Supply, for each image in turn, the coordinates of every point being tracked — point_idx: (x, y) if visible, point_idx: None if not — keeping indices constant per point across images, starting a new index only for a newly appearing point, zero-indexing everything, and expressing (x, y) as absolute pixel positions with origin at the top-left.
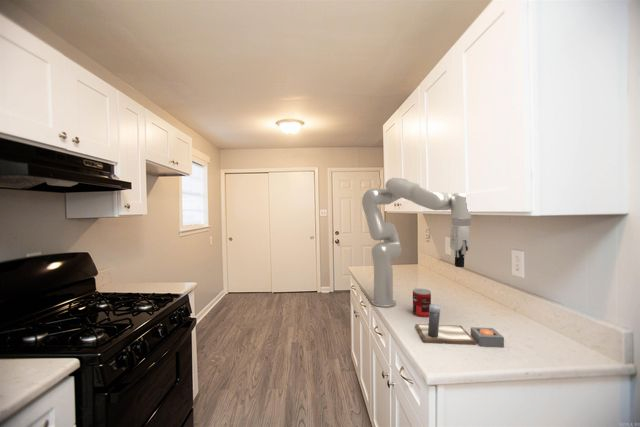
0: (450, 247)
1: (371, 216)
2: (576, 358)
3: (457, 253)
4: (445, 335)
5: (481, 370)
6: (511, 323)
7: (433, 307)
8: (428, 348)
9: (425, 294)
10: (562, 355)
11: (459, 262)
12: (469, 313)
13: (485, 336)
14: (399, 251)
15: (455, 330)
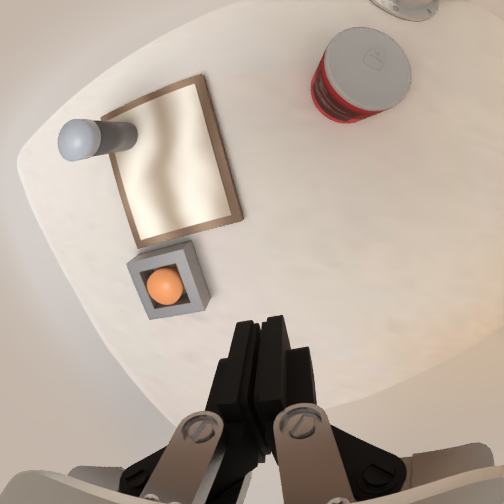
0: (438, 492)
1: None
2: (175, 402)
3: (179, 466)
4: (138, 170)
5: (49, 240)
6: (333, 358)
7: (59, 138)
8: None
9: (330, 81)
10: (176, 390)
11: (216, 382)
12: (398, 263)
13: (132, 278)
14: None
15: (187, 200)
